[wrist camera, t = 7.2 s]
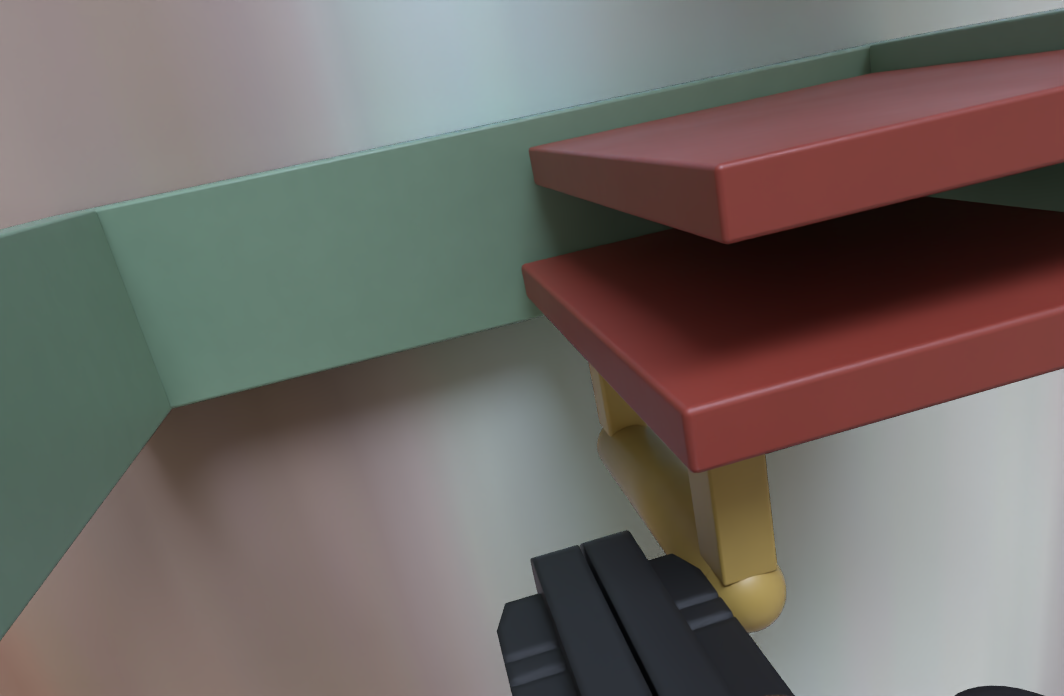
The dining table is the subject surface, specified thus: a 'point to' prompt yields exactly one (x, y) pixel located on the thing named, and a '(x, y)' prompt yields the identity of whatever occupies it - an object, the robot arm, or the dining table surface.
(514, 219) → the green double frame
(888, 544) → the dining table surface
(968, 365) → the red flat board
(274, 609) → the dining table surface
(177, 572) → the dining table surface
